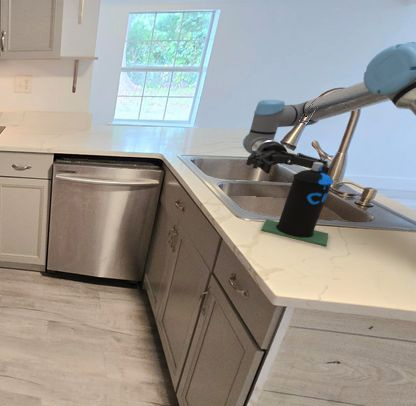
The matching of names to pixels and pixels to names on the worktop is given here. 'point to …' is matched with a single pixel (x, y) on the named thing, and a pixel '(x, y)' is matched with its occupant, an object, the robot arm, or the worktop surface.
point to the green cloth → (317, 238)
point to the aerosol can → (305, 202)
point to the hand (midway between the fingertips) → (297, 170)
